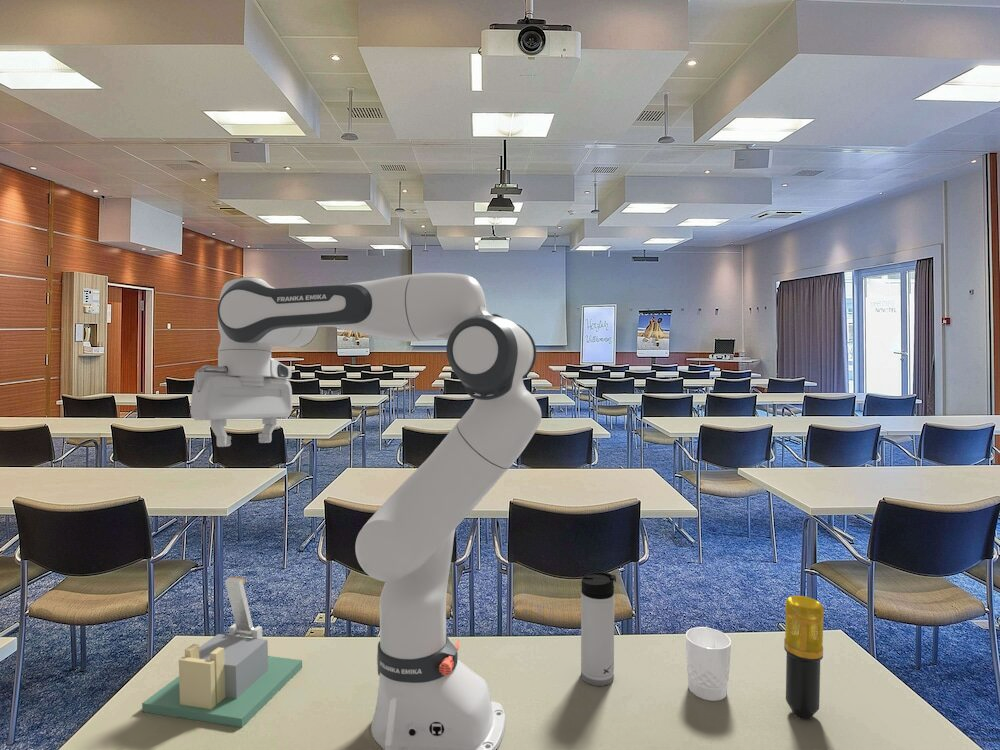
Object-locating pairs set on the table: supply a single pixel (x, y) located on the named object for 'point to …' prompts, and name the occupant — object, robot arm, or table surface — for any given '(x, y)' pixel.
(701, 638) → the white cup
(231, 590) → the retention strap
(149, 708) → the base
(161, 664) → the table surface
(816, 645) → the microphone
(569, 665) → the table surface
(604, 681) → the travel mug
